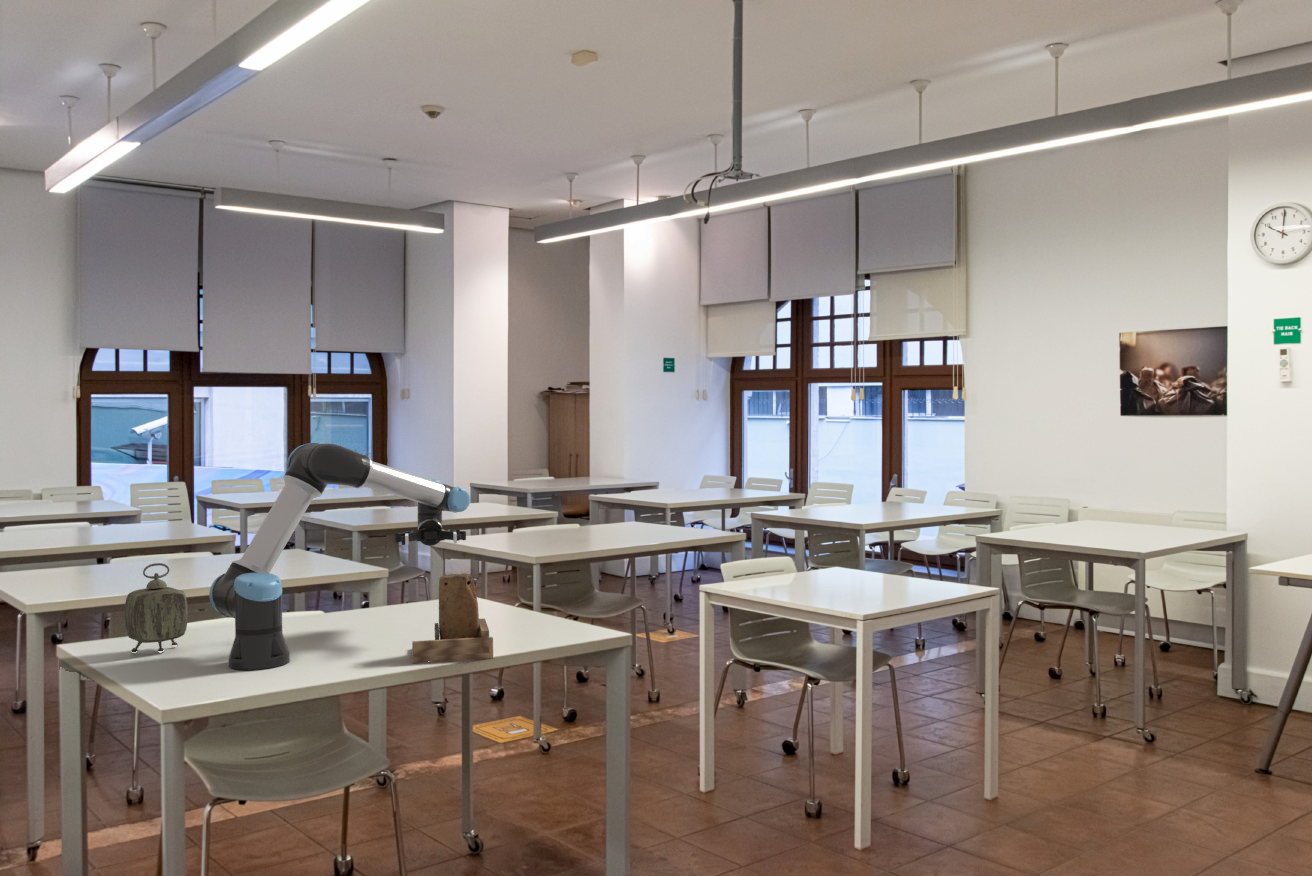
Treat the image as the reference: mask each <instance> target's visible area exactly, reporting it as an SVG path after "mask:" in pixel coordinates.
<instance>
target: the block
mask: <svg viewBox="0 0 1312 876" xmlns="http://www.w3.org/2000/svg"><path fill="white" fill-rule="evenodd" d="M438 581H439V582H438V625H439V640H444V639H461V638H478V637H479V619H480V618H479V615H480V614H479V603H478V596H477V590H476V584H475V581H474V578H473V576H472V575H470V574H469V573H467V572H466V573H465V572H463V573H451V574H444V575H442V576H440V577H439V580H438Z"/></svg>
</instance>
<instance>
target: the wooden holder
mask: <svg viewBox="0 0 1312 876" xmlns="http://www.w3.org/2000/svg"><path fill="white" fill-rule="evenodd" d="M488 626H489V625H488V623H487V621H486V618H479V637H478V638H461V639H444V640H440V634H439V622H434V639H430V640H426V639H425V640H413V641H411V645H412V648H411V649H412V655H411V656H412V664H420V663H419V662H426V663H429V662H428V661H442V662H452V661H453V662H455V661H471V660H472V659H473V660H482V659H483V660H486V659H489V660H490V659H494V637H493V636H490V630H489V627H488Z"/></svg>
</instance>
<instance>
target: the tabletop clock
mask: <svg viewBox="0 0 1312 876" xmlns="http://www.w3.org/2000/svg"><path fill="white" fill-rule="evenodd" d="M157 566H162V567H165V568H166V569H167V571H166V572H165V573H163V574H161V575H159V573H158V572H155V573H154V575H153V576H152V575H147V574H146V571H147V570H148V569H149V568H151V567H157ZM169 573H170V568H169V566H168V565H167V564H165V563H163V562H162V563H160V562H155V563H151V564H148V565H147V566H146V567H144V568H143V570H142V575H143V576H144V577H146V578H148V579H152V580H149V582H148V583H147V584H146V587H145V588H141V589H136V590H133V591H131V592H129V593H127V596H126V599H125V604H124V617H123V618H124V625H125V626H124V627H125V631H126V634H127V637H128V638H130V639H131V640H133V641H136V642H137V644H136V645H135V647H133V648H132V649H131V651H132V652H136V651H139V647H140V646H141V644H142V643H143V644H144V643H145V644H151V643H158V647H159V648H158V649H157V652H158V651H163V650H164V651H165V649H164V647H162V643H163V642H166V641H167V642H168V641H171V643H170V644H171V645H177V646H178V642H176V641H175V640H176V639H179V638H181V637H183V636H184V635H185V633H186V631H187V628H188V618H189V610H188V609H189V607H188V599H187V596H186V593H185V591H184V590H181V589H178V588H174V587H170V586H168V585H167V583H166V581H164V580H163V579H162V578H164V577H166V576H168V574H169ZM132 652H131V653H132Z"/></svg>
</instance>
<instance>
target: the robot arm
mask: <svg viewBox="0 0 1312 876" xmlns="http://www.w3.org/2000/svg"><path fill="white" fill-rule="evenodd" d="M286 466H287V470H286V472H285V473H284V476H283V480H284V486H283V487H282V489H281V491H280V492H279V494H278V496H277V497H276V500H275V501H274V503H273V505H272V507H270V509H269V511H268V513H267V515H266V516H265V518H264V519H263V521H262V523H261V524H260V527H259V528H258V530H257V531H256V533H254V534H255V535H254V536H253V538H252V540H251V541H250V542H249V545H248V547H247V548H246V549H245V551H244V553H243V555H242V556H241V558H239V559H236V560H233V561H232V562H231V564H230V565H229V567H228V568H227V570H226V572H225V573H222V574H220V575H219V576H218V577H216V578H215V579H214V580H213V582H212V583H211V586H210V589H209V594H208V595H209V601H210V604H211V606H212V607H213V609H214V610H216V612H218V613H219V614H221V615H223V616H224V617H226V618H233V619H234V625H235V626H234V628H235V629H234V630H235V631H234V635H235V636H234V640H233V643H232V646H231V649H230V653H229V656H228V668H230V667H231V668H230V669H232V668H235V669H234V670H239V671H241V670H242V671H243V670H244V671H245V670H247V671H248V670H249V671H255V670H263V669H264V670H265V669H271V668H276V667H281V666H283V665H287V664H289V663H290V661H291V659H290V658H291V657H290V656H291V655H290V653H291V652H290V650H289V647H288V644H287V642H286V640H285V636H284V634H283V586H282V581H281V578H280V577H279V576H278V575H276V574H273V573H271V571H272V570H273V568H274V566H275V564H276V563H277V561H278V560H279V557H280V556H281V554H282V552H283V551H284V549H285V547H286V545H287V543H288V542H289V541H290V538H291V537H292V535H293V533H294V531H295V530H296V528H297V527H298V525H299V523H300V521H301V520H302V518H303V517H304V514H305V513H306V511H307V510H308V507H309V506H310V505H311V502H312V501H313V499H316V498H319V497H321V496H322V494H323V493H324V491H325V489H326V487H327V486H328V485H339V486H348V487H353V488H356V489H361V488H362V487H364V488H368V489H372V490H375V491H379V492H382V493H386V494H389V495H391V496H392V495H393V496H396V497H399V498H402V499H406V500H409V501H413V502H416V503H417V529H416V531H413V530H411V529H409V530H406V531H402V532H398V533H395V534H394V538H395V539H394V541H395V543H396V544H397V543H401V545H402V546H409V542H410V543H411V542H419V543H420V542H421V544H423V545H425V546H428V547H432V546H436V545H438V544H439V543H440V542H442V541H445V540H447V541H453V544H458V542H459V541H466V540H467V532H466V531H465V530H460V528H458V529H454V528H451V529H448V530H445V529H444V528H443V512H451V513H462V512H464V511H466V510H467V509H468V507H469V506H470V502H471V497H470V493H469V492H468V490H467V489H465V488H463V487H459V486H452V485H448V484H445V483H442V481H441V480H440V479H437V478H436V479H430V478H425V477H423V476H419V475H418V474H413V473H410V472H407V471H405V470H402V469H398V468H395V467H392V466H389V465H385V464H382V463H379V462H375V461H373V460H371V457H370V456H368V455H366V454H363V453H360V452H357V451H355V450H352V449H349V448H348V447H347V448H346V447H344V446H341V445H339V444H337V443H336V444H335V443H318V442H309V443H305V444H302V445H299V446H297V447H296V448H295V449H293V450H292V452H291V453H290V454H289V456H288V459H287V462H286Z"/></svg>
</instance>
